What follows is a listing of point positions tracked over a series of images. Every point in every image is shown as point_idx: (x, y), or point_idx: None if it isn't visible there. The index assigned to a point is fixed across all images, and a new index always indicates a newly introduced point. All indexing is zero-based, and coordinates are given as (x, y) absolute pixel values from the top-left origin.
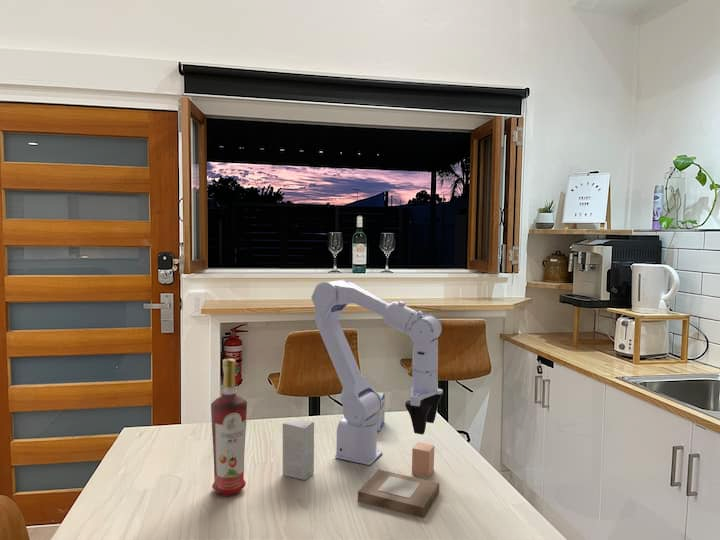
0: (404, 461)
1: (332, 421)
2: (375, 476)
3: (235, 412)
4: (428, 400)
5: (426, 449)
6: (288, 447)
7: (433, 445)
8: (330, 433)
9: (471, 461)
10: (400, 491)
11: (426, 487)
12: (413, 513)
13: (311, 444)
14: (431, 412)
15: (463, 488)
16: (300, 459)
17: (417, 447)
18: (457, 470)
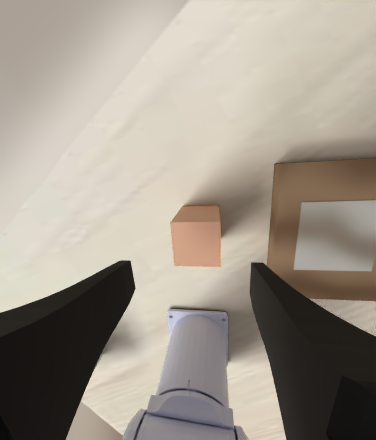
0: (176, 266)
1: (105, 399)
2: (305, 292)
3: None
4: (66, 367)
5: (208, 233)
6: None
7: (174, 224)
8: (146, 390)
9: (99, 146)
10: (361, 228)
11: (317, 183)
12: None
13: None
14: (107, 295)
15: (232, 119)
16: None
17: (208, 257)
18: (157, 160)
